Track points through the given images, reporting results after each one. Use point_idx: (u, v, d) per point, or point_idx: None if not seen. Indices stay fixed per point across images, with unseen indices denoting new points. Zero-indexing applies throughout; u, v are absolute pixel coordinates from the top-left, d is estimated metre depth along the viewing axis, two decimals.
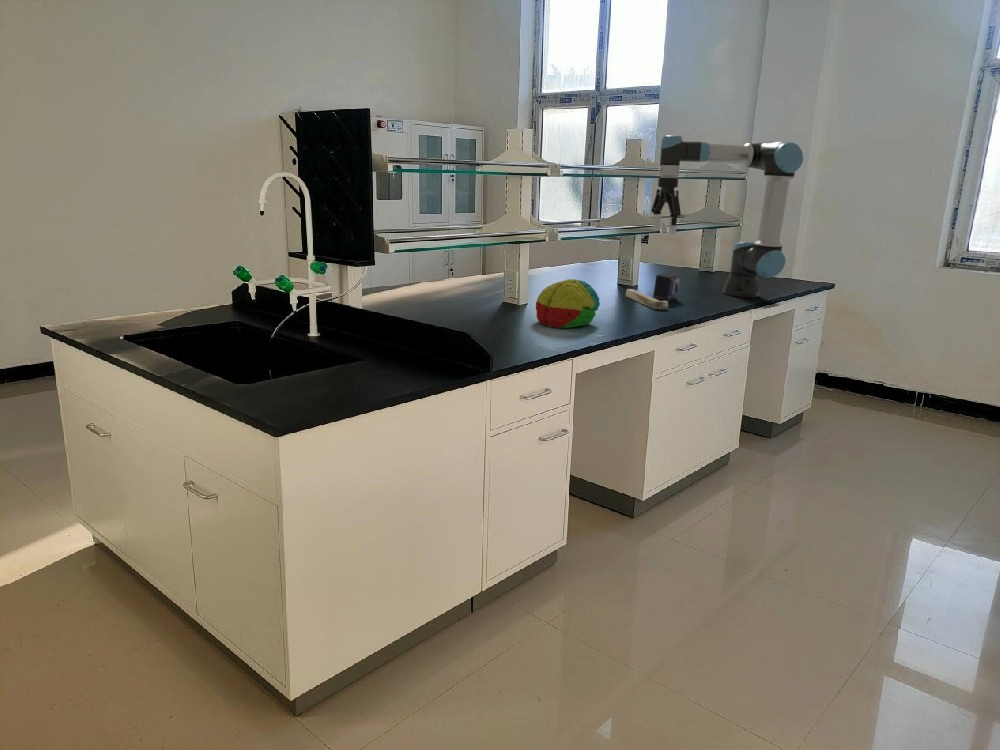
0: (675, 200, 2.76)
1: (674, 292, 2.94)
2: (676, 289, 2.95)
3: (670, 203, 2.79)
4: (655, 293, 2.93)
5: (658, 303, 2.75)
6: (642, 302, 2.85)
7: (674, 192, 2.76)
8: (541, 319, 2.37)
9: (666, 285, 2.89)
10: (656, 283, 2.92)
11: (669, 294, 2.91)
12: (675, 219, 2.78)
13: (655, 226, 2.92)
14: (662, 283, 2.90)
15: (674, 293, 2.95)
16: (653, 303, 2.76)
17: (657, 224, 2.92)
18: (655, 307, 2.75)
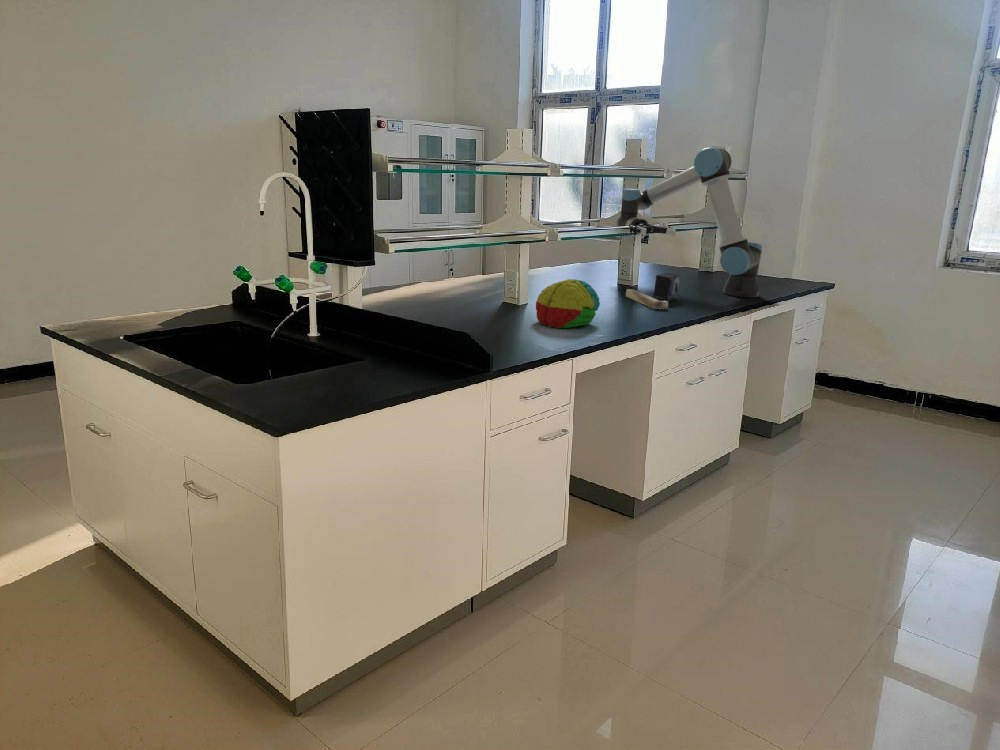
0: None
1: (674, 292, 2.94)
2: (676, 289, 2.95)
3: None
4: (655, 293, 2.93)
5: (658, 303, 2.75)
6: (642, 302, 2.85)
7: None
8: (541, 319, 2.37)
9: (666, 285, 2.89)
10: (656, 283, 2.92)
11: (669, 294, 2.91)
12: (635, 229, 3.02)
13: (671, 234, 3.03)
14: (662, 283, 2.90)
15: (674, 293, 2.95)
16: (653, 303, 2.76)
17: (671, 231, 3.03)
18: (655, 307, 2.75)
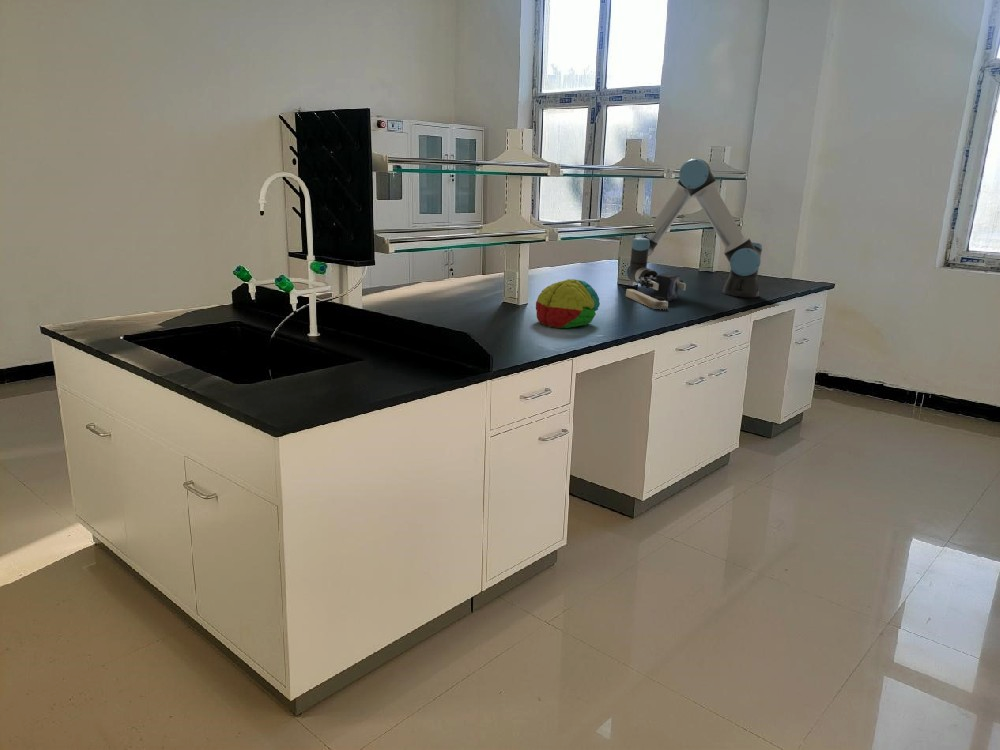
0: (640, 282, 3.01)
1: (674, 292, 2.94)
2: (676, 289, 2.95)
3: None
4: (655, 293, 2.93)
5: (658, 303, 2.75)
6: (642, 302, 2.85)
7: (638, 280, 3.04)
8: (541, 319, 2.37)
9: (666, 285, 2.89)
10: None
11: (669, 294, 2.91)
12: (647, 283, 2.94)
13: (681, 288, 2.95)
14: (662, 283, 2.90)
15: (674, 293, 2.95)
16: (653, 303, 2.76)
17: (681, 285, 2.95)
18: (655, 307, 2.75)
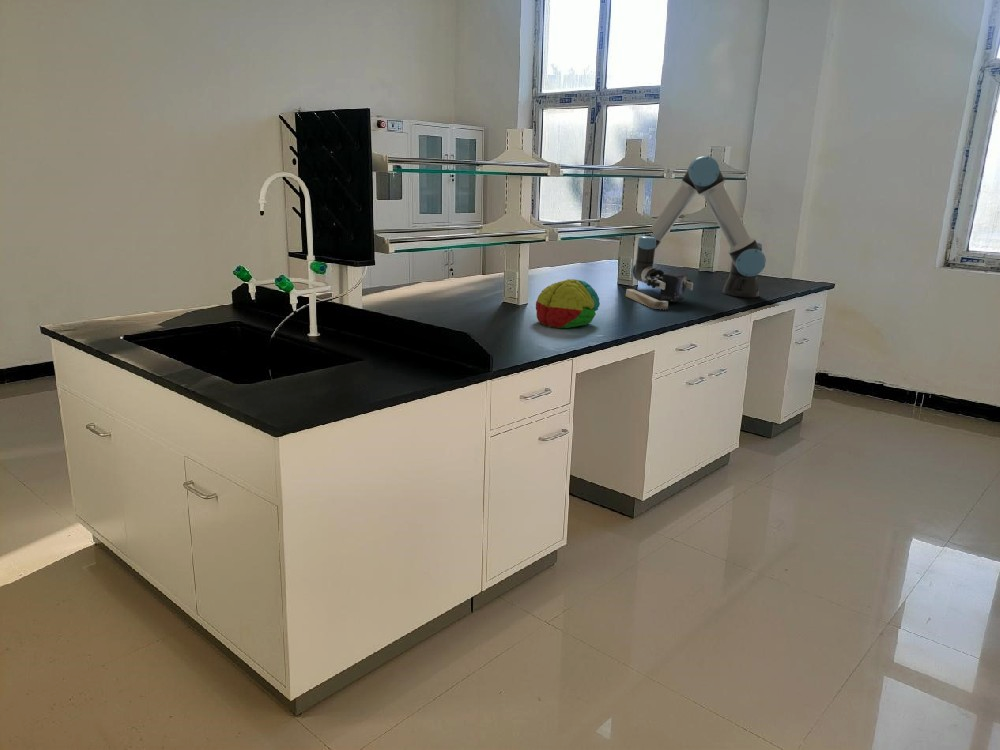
0: (646, 281, 2.95)
1: (681, 291, 2.88)
2: (683, 288, 2.89)
3: None
4: (662, 292, 2.87)
5: (658, 303, 2.75)
6: (642, 302, 2.85)
7: (644, 280, 2.98)
8: (541, 319, 2.37)
9: (672, 284, 2.83)
10: None
11: (675, 293, 2.84)
12: (654, 283, 2.88)
13: (689, 287, 2.88)
14: (669, 282, 2.84)
15: (681, 293, 2.89)
16: (653, 303, 2.76)
17: (688, 285, 2.89)
18: (655, 307, 2.75)
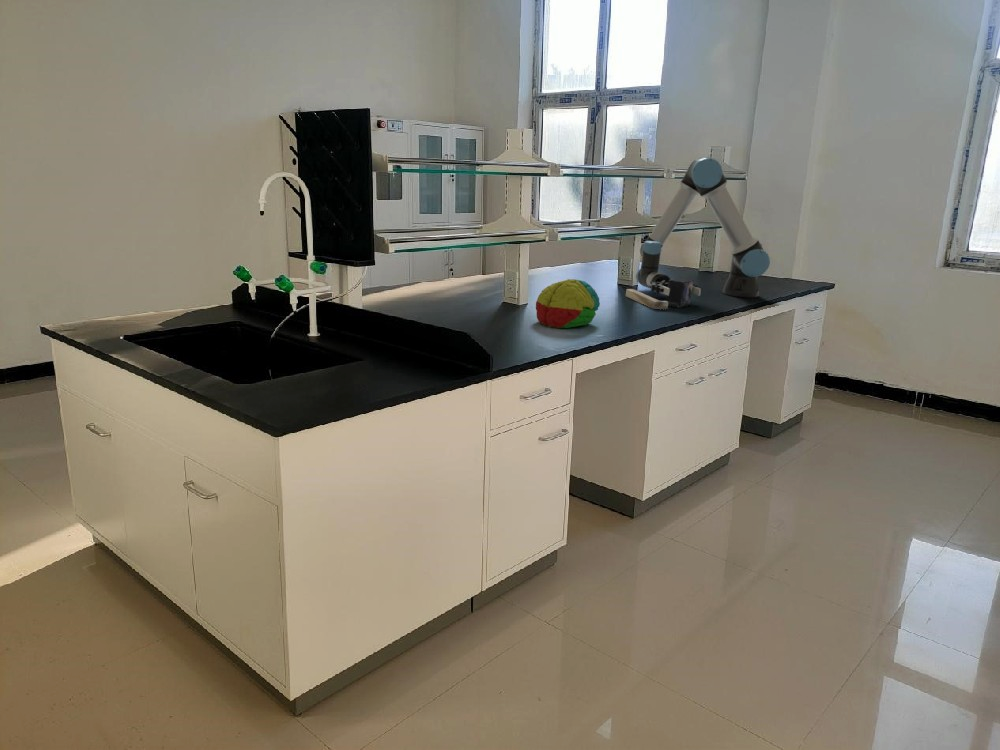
0: (651, 286, 2.92)
1: (687, 297, 2.84)
2: (689, 294, 2.85)
3: None
4: (668, 298, 2.83)
5: (658, 303, 2.75)
6: (642, 302, 2.85)
7: (650, 285, 2.94)
8: (541, 319, 2.37)
9: (679, 290, 2.79)
10: None
11: (682, 299, 2.81)
12: (658, 288, 2.85)
13: (696, 293, 2.85)
14: (675, 288, 2.80)
15: (688, 299, 2.85)
16: (653, 303, 2.76)
17: (695, 290, 2.86)
18: (655, 307, 2.75)
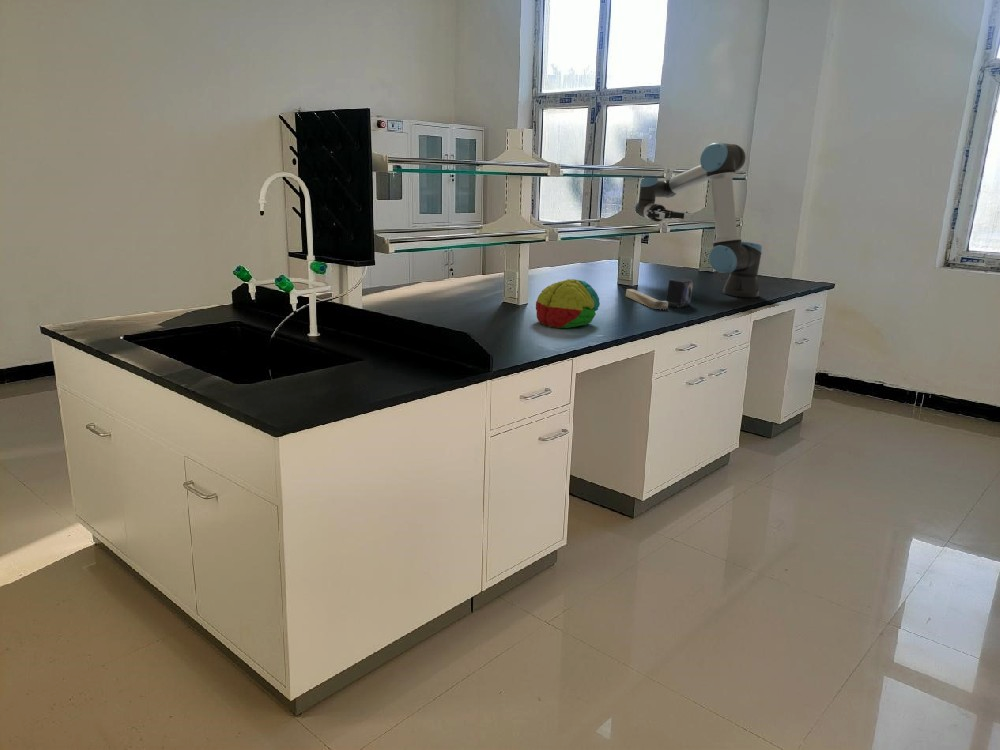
0: None
1: (687, 297, 2.84)
2: (689, 294, 2.85)
3: None
4: (668, 298, 2.83)
5: (658, 303, 2.75)
6: (642, 302, 2.85)
7: (646, 214, 3.21)
8: (541, 319, 2.37)
9: (679, 290, 2.79)
10: (669, 288, 2.82)
11: (682, 299, 2.81)
12: (654, 214, 3.11)
13: (689, 218, 3.12)
14: (675, 288, 2.80)
15: (688, 299, 2.85)
16: (653, 303, 2.76)
17: (688, 216, 3.12)
18: (655, 307, 2.75)
